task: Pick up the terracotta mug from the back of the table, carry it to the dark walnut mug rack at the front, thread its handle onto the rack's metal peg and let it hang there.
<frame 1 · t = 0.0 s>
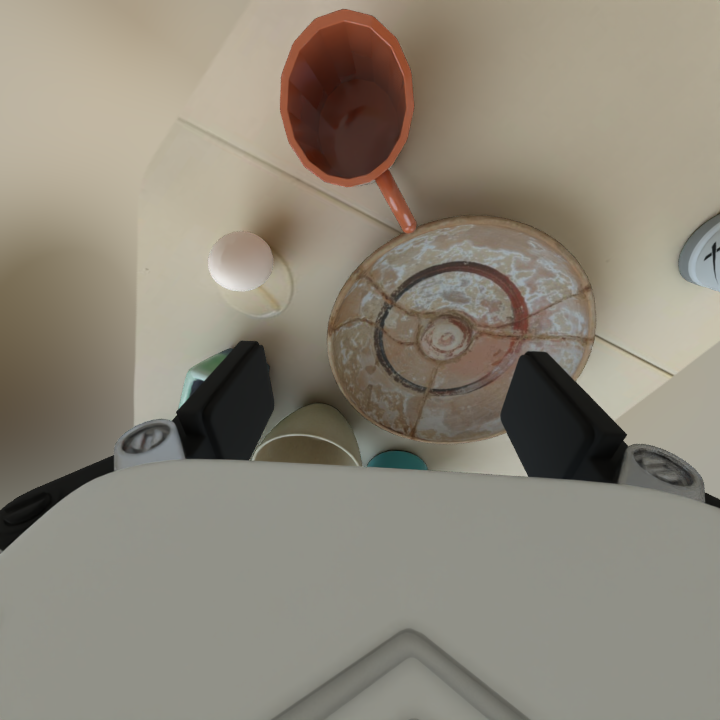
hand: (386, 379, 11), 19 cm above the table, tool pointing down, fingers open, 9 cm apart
mug: (358, 134, 23), on the table
planter: (227, 422, 40), on the table
travel mug: (715, 248, 25), on the table
flower pot: (321, 419, 39), on the table
egg: (259, 252, 28), on the table
cup 2: (388, 464, 42), on the table
ceramic bowl: (443, 332, 31), on the table
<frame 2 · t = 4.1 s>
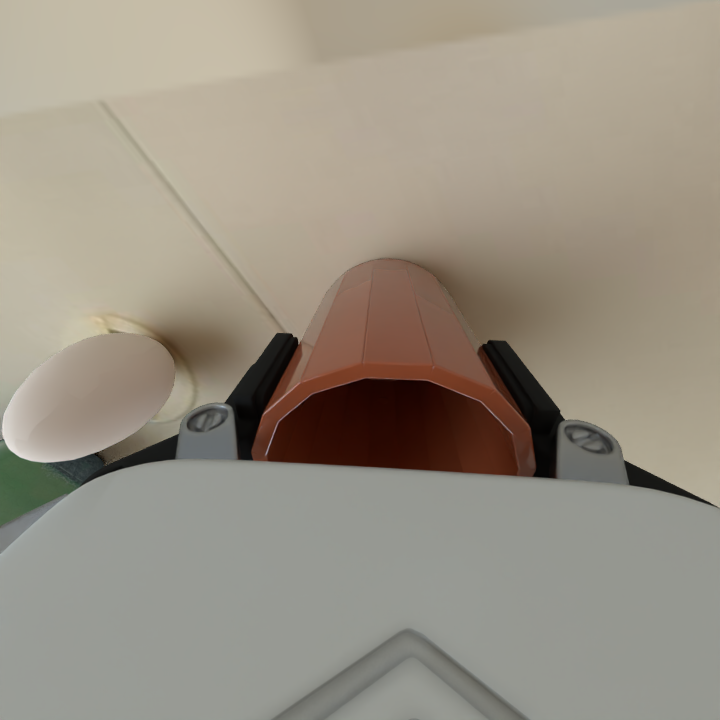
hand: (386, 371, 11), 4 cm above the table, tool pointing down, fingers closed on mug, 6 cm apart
mug: (385, 326, 15), on the table, touching gripper
egg: (159, 349, 17), on the table
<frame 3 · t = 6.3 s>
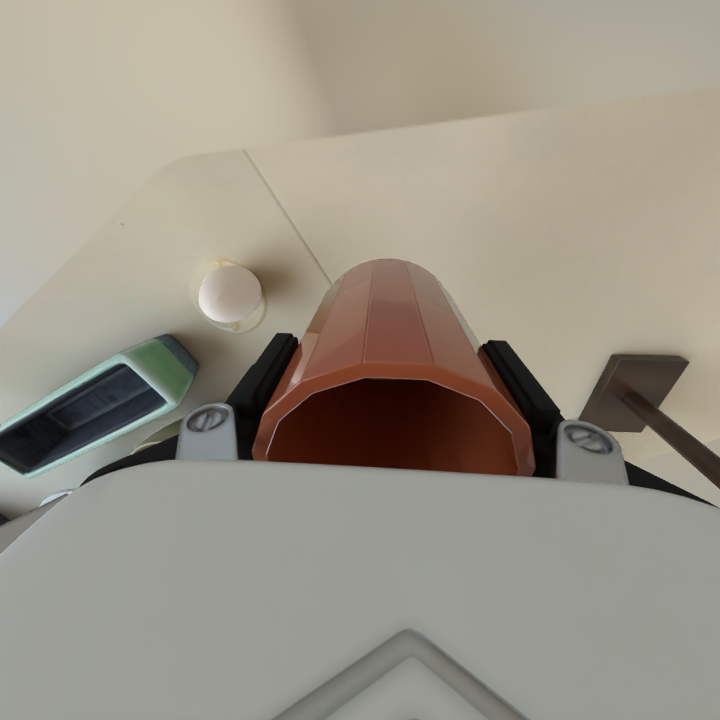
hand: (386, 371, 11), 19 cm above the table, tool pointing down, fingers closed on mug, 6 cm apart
mug: (385, 326, 15), point 15 cm above the table, touching gripper
planter: (118, 386, 37), on the table
flower pot: (219, 425, 40), on the table
egg: (247, 282, 29), on the table
mug rack: (623, 392, 34), on the table
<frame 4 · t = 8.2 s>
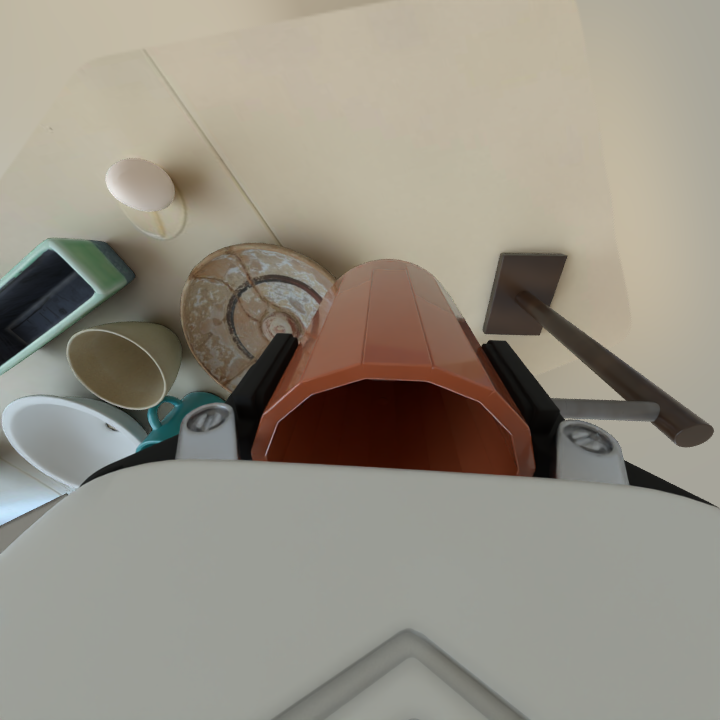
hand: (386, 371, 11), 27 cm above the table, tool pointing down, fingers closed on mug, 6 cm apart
mug: (385, 327, 15), point 23 cm above the table, touching gripper
planter: (68, 300, 41), on the table
flower pot: (162, 340, 44), on the table
soup bowl: (114, 424, 54), on the table
egg: (166, 185, 33), on the table
cup 2: (203, 403, 50), on the table
ceramic bowl: (283, 325, 41), on the table
mug rack: (519, 295, 37), on the table
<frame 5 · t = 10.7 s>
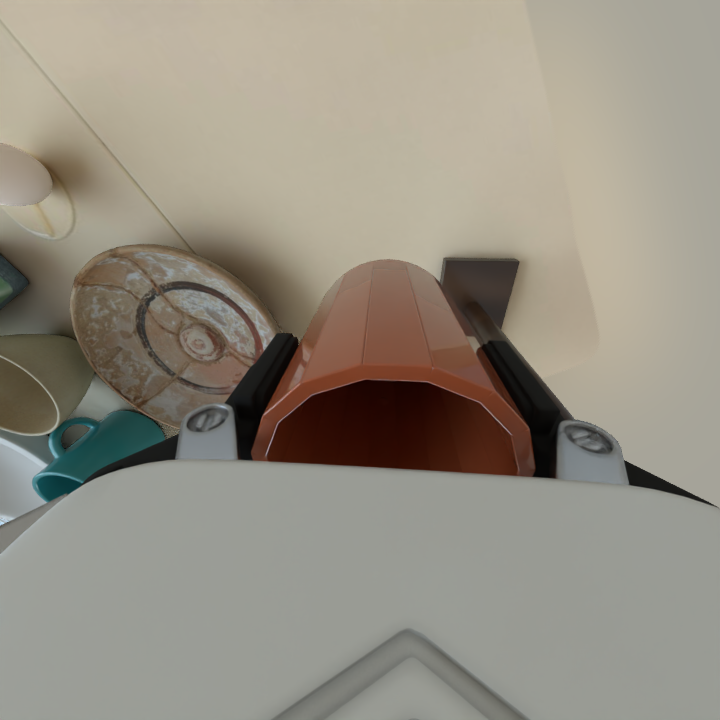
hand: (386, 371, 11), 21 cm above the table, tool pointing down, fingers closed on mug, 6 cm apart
mug: (385, 327, 15), point 17 cm above the table, touching gripper
flower pot: (73, 354, 38), on the table
soup bowl: (37, 444, 49), on the table
egg: (46, 176, 28), on the table
cup 2: (131, 423, 45), on the table
ceramic bowl: (205, 338, 36), on the table
mug rack: (469, 306, 32), on the table
when the fingers open (20 cm above the table, at t = 12.5 s): mug drops 2 cm and tips over, resting on mug rack.
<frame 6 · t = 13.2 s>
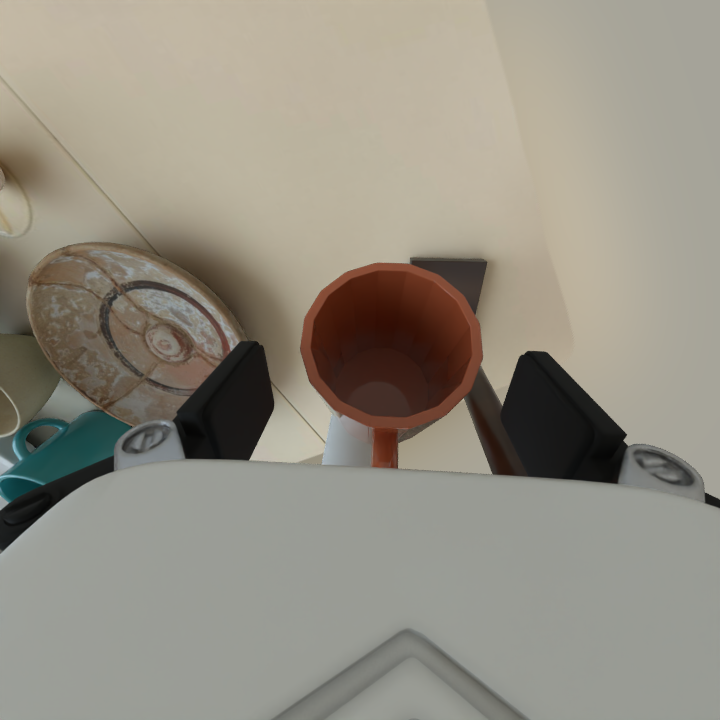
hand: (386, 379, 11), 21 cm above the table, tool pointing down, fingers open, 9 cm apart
mug: (381, 392, 19), point 14 cm above the table, tilted 51°, touching mug rack
travel mug: (362, 381, 36), on the table
flower pot: (40, 354, 38), on the table
soup bowl: (11, 444, 48), on the table
cup 2: (104, 423, 44), on the table
ceramic bowl: (173, 338, 35), on the table
mug rack: (439, 307, 31), on the table
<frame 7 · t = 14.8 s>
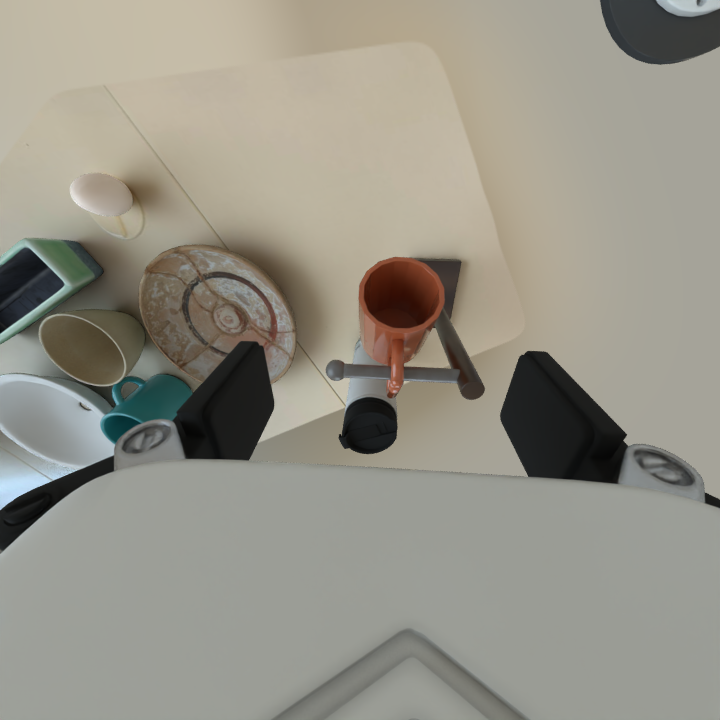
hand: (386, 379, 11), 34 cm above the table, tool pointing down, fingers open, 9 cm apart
mug: (391, 335, 32), point 14 cm above the table, tilted 48°, touching mug rack
planter: (44, 291, 47), on the table
travel mug: (372, 349, 49), on the table
flower pot: (127, 327, 50), on the table
soup bowl: (87, 404, 60), on the table
egg: (126, 194, 39), on the table
cup 2: (167, 385, 56), on the table
ceramic bowl: (233, 316, 47), on the table
mug rack: (429, 293, 43), on the table
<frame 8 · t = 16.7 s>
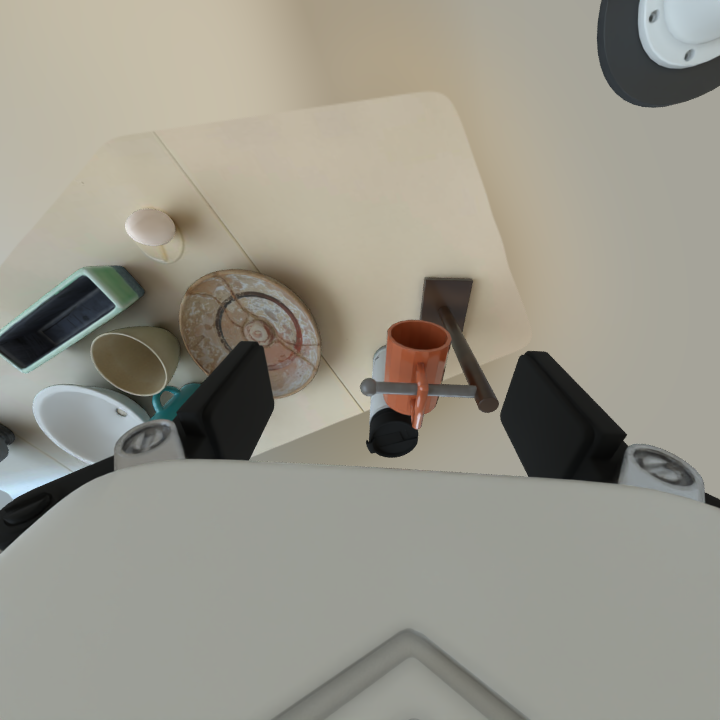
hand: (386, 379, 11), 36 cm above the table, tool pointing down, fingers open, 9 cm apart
mug: (409, 396, 37), point 16 cm above the table, tilted 86°, touching mug rack
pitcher: (3, 429, 70), on the table
planter: (90, 309, 52), on the table
travel mug: (389, 359, 53), on the table
flower pot: (164, 341, 54), on the table
soup bowl: (122, 411, 64), on the table
egg: (169, 224, 43), on the table
cup 2: (198, 393, 60), on the table
ceramic bowl: (261, 330, 51), on the table
mug rack: (442, 308, 47), on the table
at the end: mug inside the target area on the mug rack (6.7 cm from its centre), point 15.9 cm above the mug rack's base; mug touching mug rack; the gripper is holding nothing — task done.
